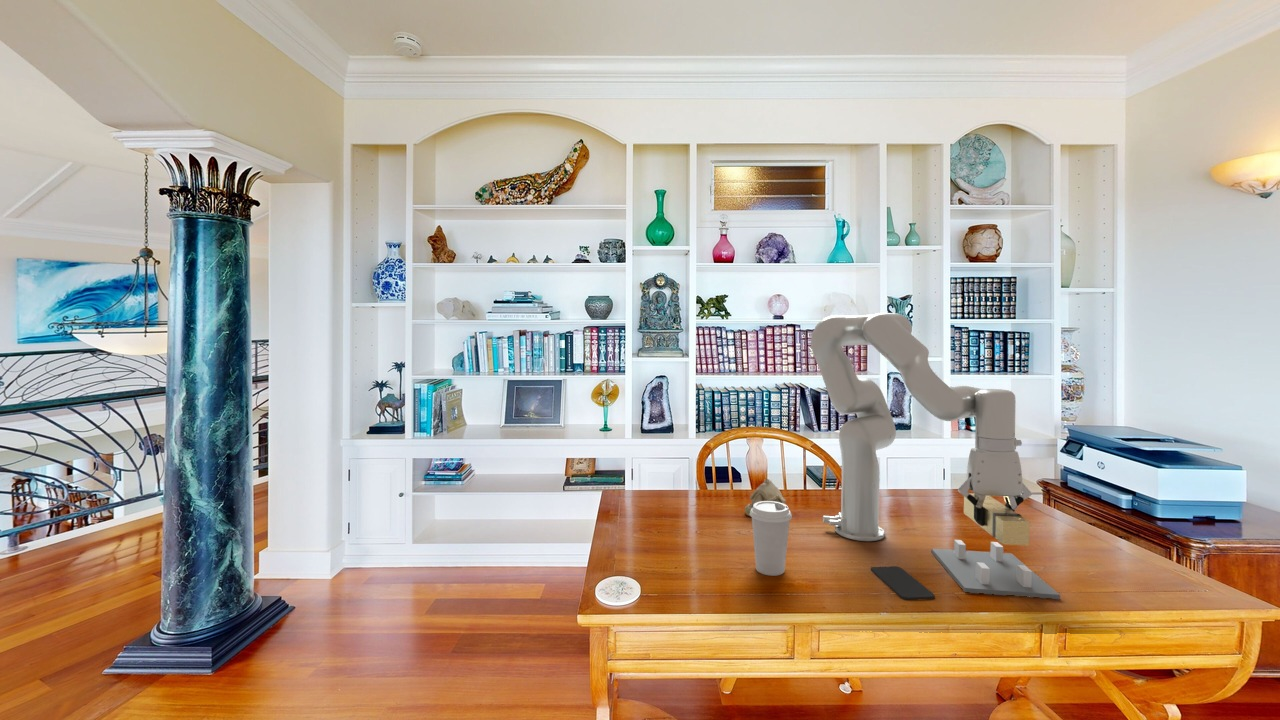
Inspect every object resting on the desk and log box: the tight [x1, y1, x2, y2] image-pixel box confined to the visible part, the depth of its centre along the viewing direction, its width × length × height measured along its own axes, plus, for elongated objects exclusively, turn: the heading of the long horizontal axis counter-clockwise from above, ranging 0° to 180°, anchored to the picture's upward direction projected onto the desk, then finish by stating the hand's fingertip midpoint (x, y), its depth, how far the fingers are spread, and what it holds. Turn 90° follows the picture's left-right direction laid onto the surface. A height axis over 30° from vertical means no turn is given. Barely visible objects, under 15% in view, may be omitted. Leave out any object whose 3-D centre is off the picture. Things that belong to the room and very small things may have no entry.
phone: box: [870, 565, 936, 601], centre depth 122 cm, size 7×1×15 cm
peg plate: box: [931, 539, 1061, 600], centre depth 126 cm, size 18×21×4 cm
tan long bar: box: [963, 492, 1031, 546], centre depth 125 cm, size 20×5×5 cm, turn 170°
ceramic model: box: [744, 478, 787, 517], centre depth 169 cm, size 14×11×10 cm
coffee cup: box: [749, 501, 793, 577], centre depth 129 cm, size 10×10×15 cm
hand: (993, 523), depth 125 cm, fingers closed on tan long bar, 5 cm apart
